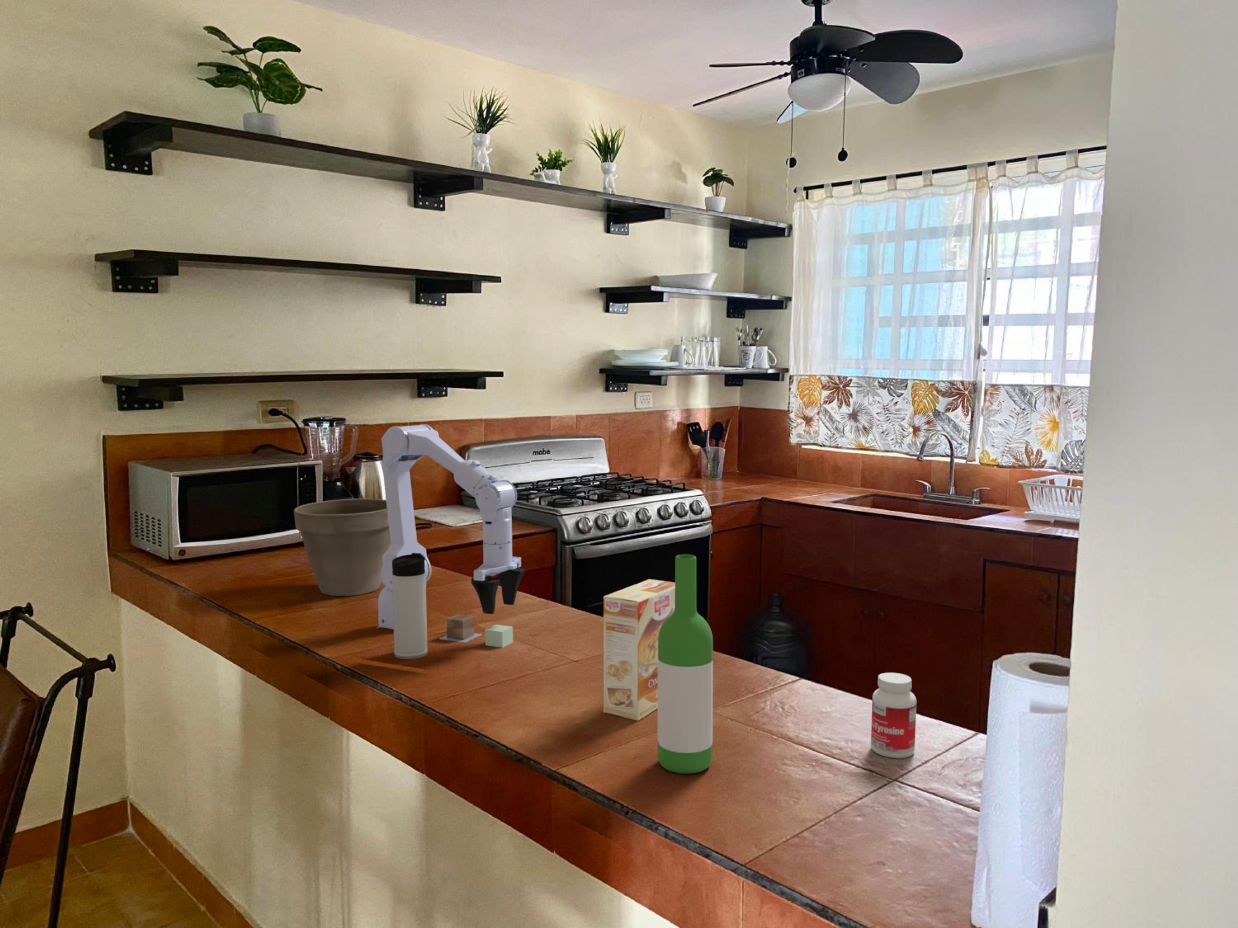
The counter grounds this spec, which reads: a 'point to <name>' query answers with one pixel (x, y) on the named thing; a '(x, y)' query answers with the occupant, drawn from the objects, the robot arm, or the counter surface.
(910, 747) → the pill bottle
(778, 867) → the counter surface
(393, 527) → the robot arm
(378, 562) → the plant pot
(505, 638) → the green block
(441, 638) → the white square board
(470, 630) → the walnut block
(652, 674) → the coffeecake box
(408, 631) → the travel mug
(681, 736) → the wine bottle
